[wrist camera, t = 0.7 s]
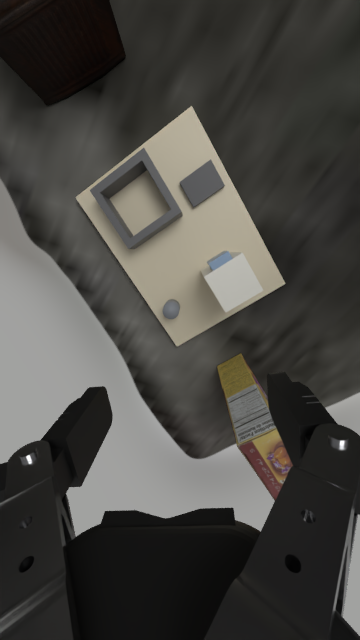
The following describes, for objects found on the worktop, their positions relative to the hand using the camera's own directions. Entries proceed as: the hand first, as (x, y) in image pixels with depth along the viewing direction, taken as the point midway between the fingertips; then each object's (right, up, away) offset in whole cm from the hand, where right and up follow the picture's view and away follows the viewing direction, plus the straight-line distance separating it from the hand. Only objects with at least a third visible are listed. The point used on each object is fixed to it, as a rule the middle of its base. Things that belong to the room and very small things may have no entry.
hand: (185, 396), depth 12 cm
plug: (+5, +9, +18) cm, 21 cm away
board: (0, +13, +18) cm, 22 cm away
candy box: (+9, -5, +23) cm, 25 cm away
